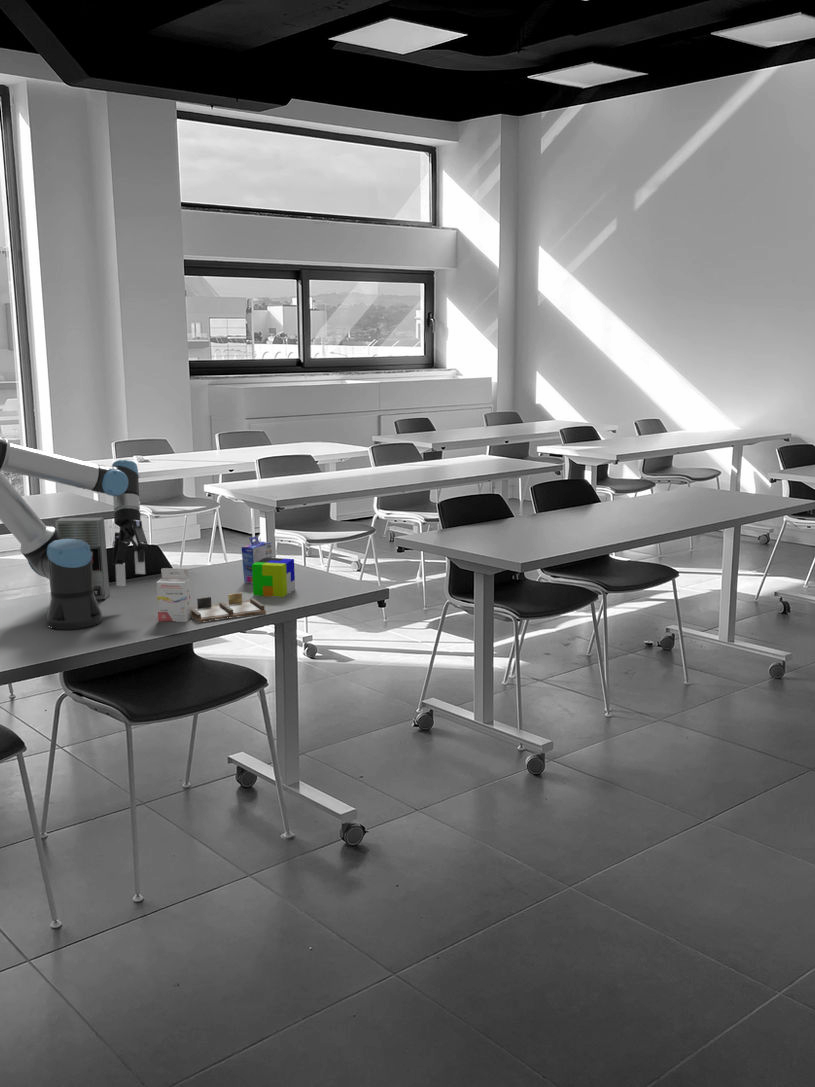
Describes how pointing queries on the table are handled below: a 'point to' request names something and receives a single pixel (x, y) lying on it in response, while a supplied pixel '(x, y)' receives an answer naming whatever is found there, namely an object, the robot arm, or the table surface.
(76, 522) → the tall grey box
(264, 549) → the ink cartridge box
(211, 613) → the tag dock board
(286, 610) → the table surface
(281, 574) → the puzzle toy
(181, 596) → the ink cartridge box
